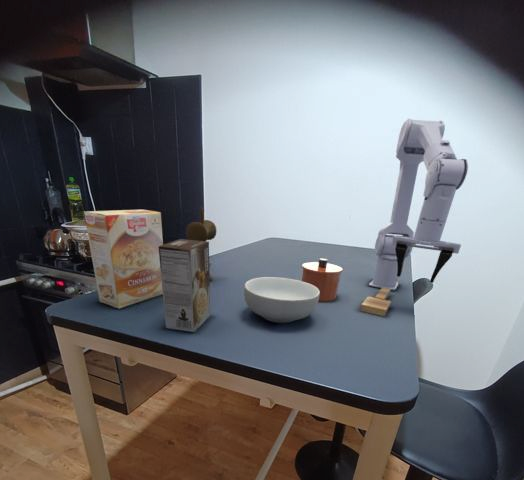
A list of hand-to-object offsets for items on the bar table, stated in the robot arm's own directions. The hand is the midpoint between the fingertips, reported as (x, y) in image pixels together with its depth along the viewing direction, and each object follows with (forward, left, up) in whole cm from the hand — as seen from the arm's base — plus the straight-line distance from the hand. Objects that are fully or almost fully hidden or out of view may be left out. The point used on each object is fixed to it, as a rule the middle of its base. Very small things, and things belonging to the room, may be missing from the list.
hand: (414, 278), depth 79 cm
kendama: (+12, -56, -9) cm, 58 cm away
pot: (+3, -23, -8) cm, 25 cm away
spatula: (-1, -7, -8) cm, 11 cm away
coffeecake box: (+35, -59, -9) cm, 69 cm away
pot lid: (+3, -23, -1) cm, 23 cm away
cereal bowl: (+24, -25, -9) cm, 36 cm away
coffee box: (+39, -39, -9) cm, 56 cm away
